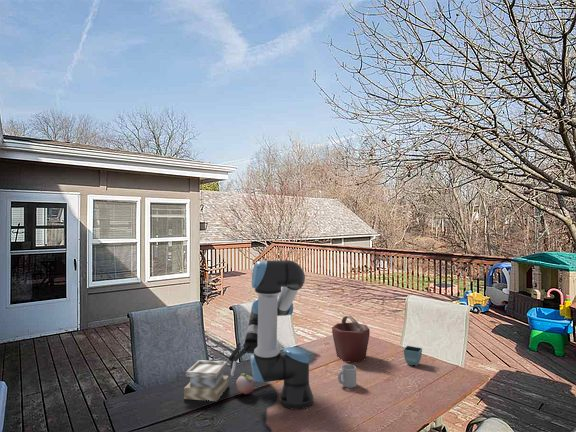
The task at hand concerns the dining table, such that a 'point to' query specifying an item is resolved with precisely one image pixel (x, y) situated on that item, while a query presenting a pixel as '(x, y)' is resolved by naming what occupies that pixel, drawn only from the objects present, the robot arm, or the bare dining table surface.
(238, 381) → the decorative fruit
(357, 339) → the bucket
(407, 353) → the flower pot
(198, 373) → the block tower
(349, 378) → the cup
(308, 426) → the dining table surface
